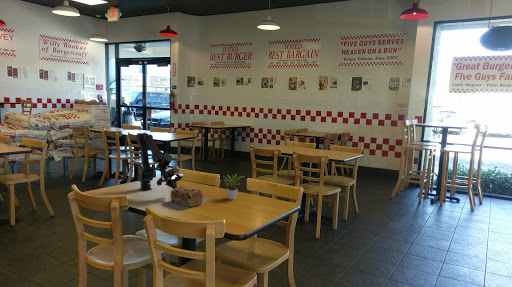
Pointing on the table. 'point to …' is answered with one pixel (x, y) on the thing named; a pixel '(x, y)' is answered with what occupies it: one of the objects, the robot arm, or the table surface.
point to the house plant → (232, 187)
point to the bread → (187, 196)
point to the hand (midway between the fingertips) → (177, 189)
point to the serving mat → (179, 206)
